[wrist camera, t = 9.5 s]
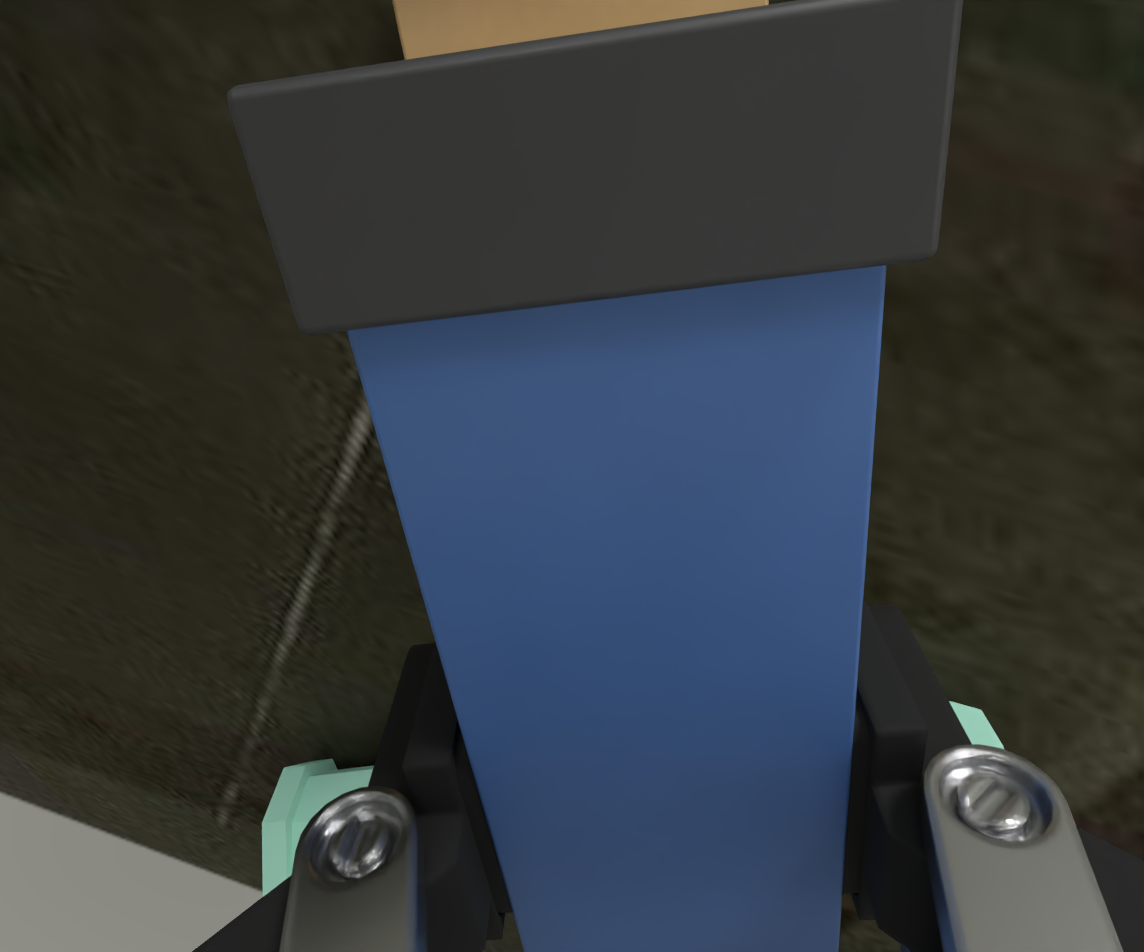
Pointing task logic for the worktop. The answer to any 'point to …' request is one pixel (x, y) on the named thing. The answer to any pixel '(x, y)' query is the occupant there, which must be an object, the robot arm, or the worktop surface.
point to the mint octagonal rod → (323, 782)
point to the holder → (530, 20)
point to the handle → (632, 424)
